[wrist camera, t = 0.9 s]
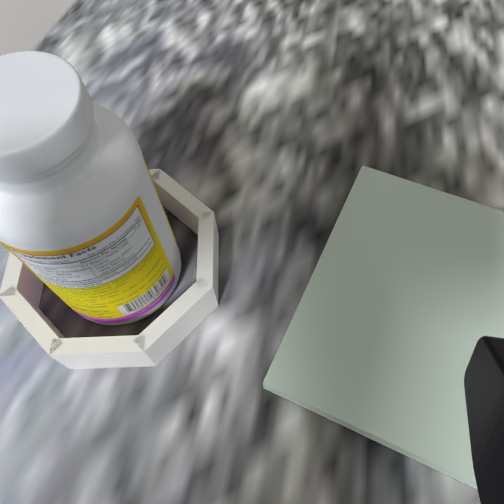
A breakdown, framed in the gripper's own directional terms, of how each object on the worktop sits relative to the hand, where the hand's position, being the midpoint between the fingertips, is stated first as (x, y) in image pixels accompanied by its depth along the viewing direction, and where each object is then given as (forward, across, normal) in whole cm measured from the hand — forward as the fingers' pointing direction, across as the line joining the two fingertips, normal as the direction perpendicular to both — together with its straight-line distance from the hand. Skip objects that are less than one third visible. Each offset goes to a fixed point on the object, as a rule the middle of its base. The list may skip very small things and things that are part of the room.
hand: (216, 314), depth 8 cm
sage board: (+14, -9, +10) cm, 19 cm away
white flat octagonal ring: (+14, +9, +10) cm, 19 cm away
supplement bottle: (+14, +9, +10) cm, 19 cm away
